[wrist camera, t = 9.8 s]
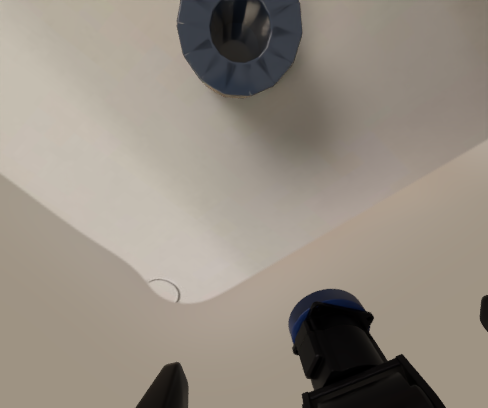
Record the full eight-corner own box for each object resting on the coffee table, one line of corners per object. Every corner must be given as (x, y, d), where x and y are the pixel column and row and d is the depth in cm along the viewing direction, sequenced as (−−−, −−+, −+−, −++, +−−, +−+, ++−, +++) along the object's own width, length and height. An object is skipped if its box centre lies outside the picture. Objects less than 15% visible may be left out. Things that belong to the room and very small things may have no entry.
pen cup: (292, 15, 16) (320, -22, 11) (264, 109, 18) (278, 111, 13) (202, -19, 15) (193, -74, 11) (182, 84, 17) (166, 76, 12)
